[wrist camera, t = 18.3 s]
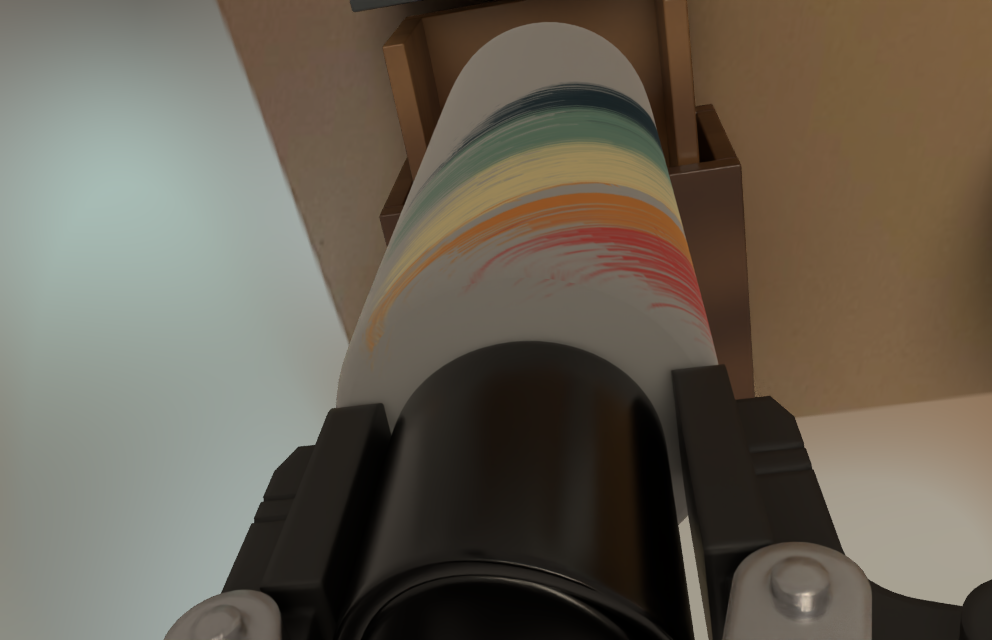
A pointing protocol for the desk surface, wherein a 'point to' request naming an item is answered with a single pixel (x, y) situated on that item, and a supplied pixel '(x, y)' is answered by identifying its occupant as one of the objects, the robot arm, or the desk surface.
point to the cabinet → (691, 241)
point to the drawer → (584, 3)
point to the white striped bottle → (530, 363)
